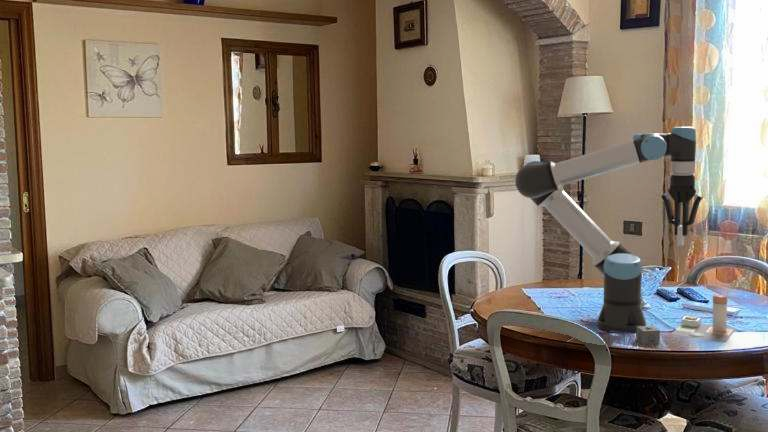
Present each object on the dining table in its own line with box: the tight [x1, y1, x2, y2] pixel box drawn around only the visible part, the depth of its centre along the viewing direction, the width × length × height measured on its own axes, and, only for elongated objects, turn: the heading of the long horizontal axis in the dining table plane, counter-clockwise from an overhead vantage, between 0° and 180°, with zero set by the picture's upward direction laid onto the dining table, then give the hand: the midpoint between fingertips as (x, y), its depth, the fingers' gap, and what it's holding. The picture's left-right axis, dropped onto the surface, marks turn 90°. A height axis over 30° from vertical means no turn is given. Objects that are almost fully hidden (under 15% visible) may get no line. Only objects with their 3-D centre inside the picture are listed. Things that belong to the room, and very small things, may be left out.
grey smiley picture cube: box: [635, 325, 661, 345], centre depth 229 cm, size 5×5×5 cm
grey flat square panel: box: [670, 323, 737, 344], centre depth 238 cm, size 16×17×1 cm
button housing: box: [680, 315, 701, 328], centre depth 245 cm, size 5×5×2 cm
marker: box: [712, 294, 728, 332], centre depth 238 cm, size 4×4×11 cm
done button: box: [686, 316, 697, 321], centre depth 245 cm, size 3×3×2 cm
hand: (680, 245), depth 251 cm, fingers closed
